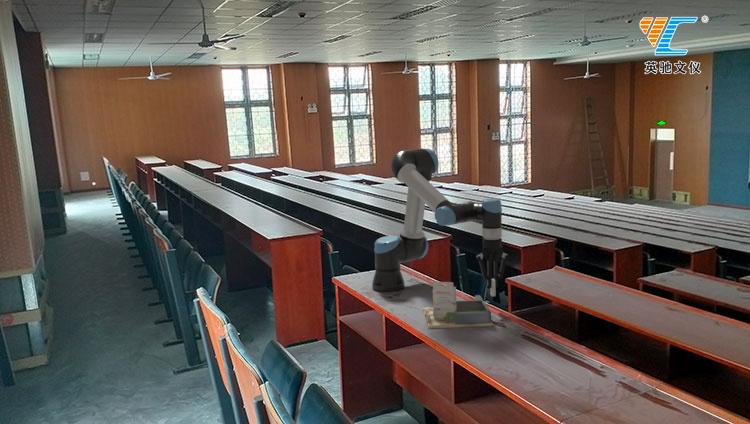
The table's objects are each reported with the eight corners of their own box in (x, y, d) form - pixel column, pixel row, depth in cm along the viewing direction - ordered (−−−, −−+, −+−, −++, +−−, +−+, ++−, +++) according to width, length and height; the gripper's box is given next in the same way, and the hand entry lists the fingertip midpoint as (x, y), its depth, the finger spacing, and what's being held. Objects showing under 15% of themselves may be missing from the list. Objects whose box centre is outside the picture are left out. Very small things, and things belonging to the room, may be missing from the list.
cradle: (422, 310, 239) (422, 300, 239) (481, 307, 240) (481, 298, 239) (428, 328, 219) (428, 318, 218) (492, 325, 219) (492, 315, 218)
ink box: (457, 315, 229) (456, 278, 226) (454, 319, 224) (454, 282, 222) (435, 313, 231) (434, 277, 229) (432, 318, 227) (431, 281, 224)
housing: (447, 306, 239) (446, 296, 239) (479, 304, 240) (479, 295, 239) (455, 324, 219) (455, 313, 218) (491, 322, 219) (491, 312, 218)
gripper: (477, 240, 228) (478, 298, 232) (510, 239, 228) (511, 297, 232) (474, 236, 236) (475, 293, 239) (506, 235, 236) (506, 291, 239)
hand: (493, 295), depth 236 cm, fingers closed
